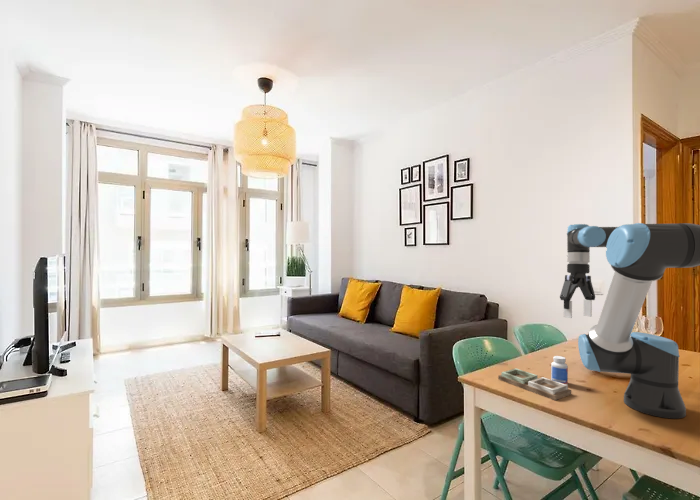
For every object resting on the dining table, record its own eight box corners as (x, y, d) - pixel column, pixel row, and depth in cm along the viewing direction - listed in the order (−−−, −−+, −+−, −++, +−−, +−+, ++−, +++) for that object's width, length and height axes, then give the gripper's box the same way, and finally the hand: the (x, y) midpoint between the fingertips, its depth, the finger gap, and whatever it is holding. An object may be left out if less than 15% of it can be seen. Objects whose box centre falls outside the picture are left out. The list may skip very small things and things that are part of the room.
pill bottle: (570, 386, 131) (570, 360, 131) (554, 385, 132) (554, 359, 132) (564, 381, 137) (564, 355, 137) (549, 379, 138) (549, 354, 138)
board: (571, 394, 124) (571, 385, 124) (555, 400, 119) (555, 391, 119) (514, 374, 143) (514, 367, 143) (498, 379, 138) (498, 371, 138)
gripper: (585, 264, 151) (585, 314, 150) (549, 262, 139) (549, 316, 138) (605, 264, 144) (605, 316, 143) (569, 262, 132) (569, 319, 131)
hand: (577, 316), depth 141 cm, fingers open, 13 cm apart
